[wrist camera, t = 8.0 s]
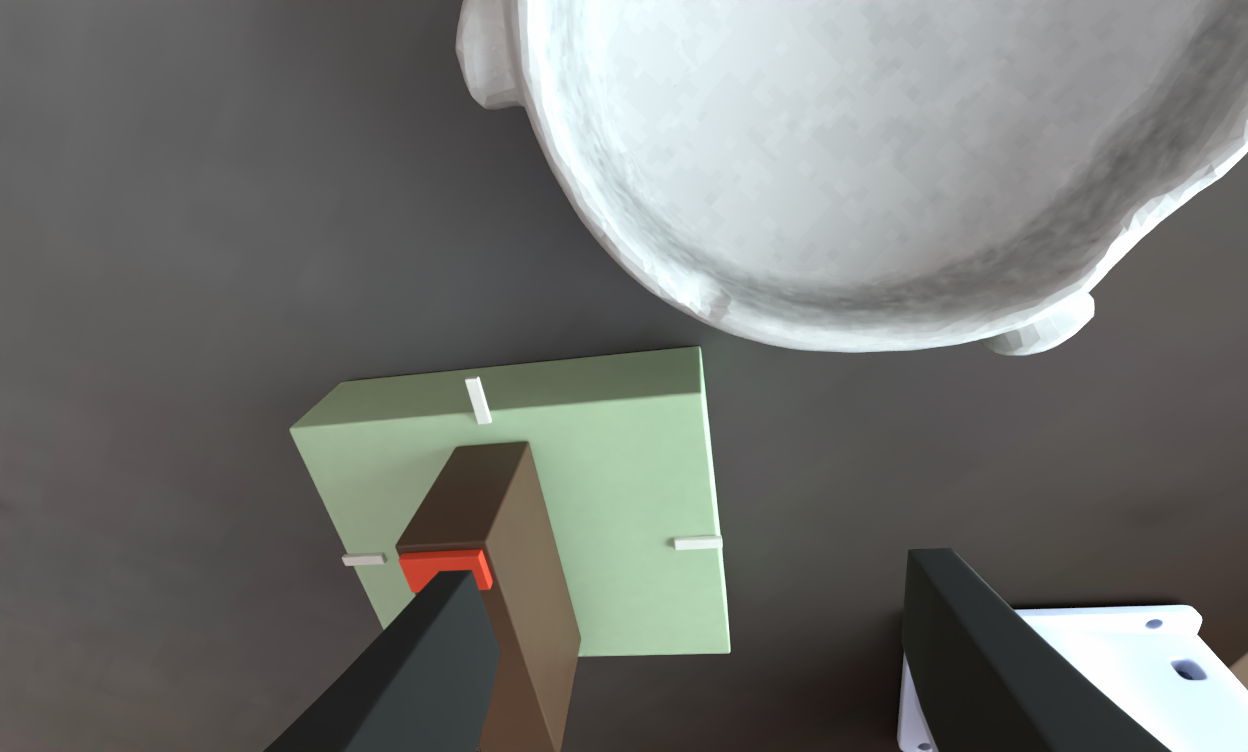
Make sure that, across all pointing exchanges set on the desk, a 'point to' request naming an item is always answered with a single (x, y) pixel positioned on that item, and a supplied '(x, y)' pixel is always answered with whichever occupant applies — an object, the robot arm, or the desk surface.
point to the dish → (871, 151)
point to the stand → (547, 483)
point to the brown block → (504, 585)
